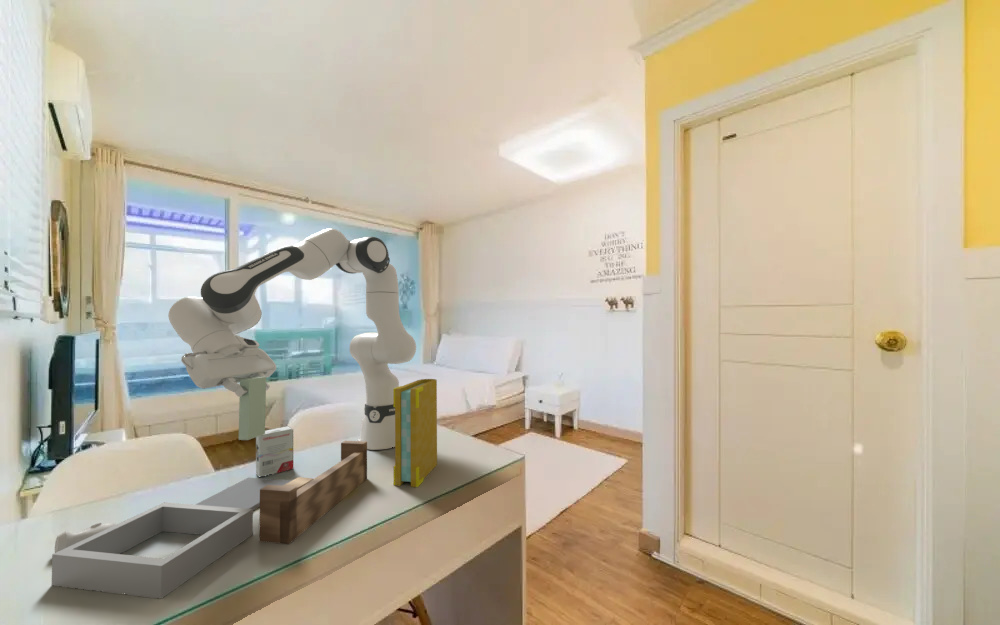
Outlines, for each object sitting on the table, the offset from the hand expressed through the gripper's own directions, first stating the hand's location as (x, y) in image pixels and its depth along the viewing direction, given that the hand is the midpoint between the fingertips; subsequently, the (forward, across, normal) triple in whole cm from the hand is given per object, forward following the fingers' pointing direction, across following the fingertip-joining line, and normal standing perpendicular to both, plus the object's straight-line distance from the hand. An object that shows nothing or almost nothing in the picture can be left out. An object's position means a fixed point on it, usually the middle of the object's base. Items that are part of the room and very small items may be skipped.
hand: (255, 391), depth 86 cm
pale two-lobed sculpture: (+6, -19, +32) cm, 37 cm away
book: (+42, +20, -6) cm, 47 cm away
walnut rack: (+31, 0, +6) cm, 31 cm away
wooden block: (+25, +1, +12) cm, 28 cm away
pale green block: (+7, 0, +8) cm, 11 cm away
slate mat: (+16, +1, +21) cm, 26 cm away
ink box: (+12, +17, +24) cm, 32 cm away
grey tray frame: (+19, -20, +18) cm, 33 cm away
